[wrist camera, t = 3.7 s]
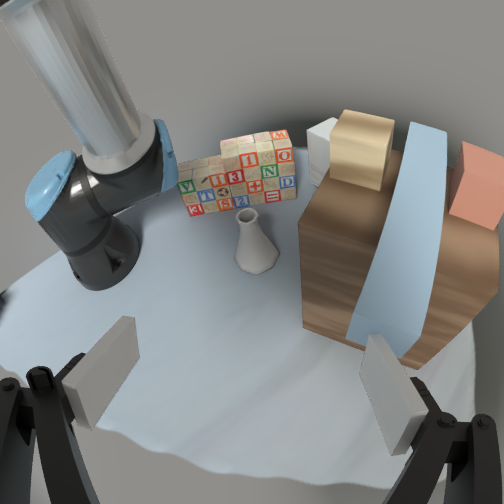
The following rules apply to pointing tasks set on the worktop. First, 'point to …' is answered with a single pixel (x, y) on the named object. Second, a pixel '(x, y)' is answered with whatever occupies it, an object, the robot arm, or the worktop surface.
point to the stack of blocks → (240, 174)
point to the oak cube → (360, 149)
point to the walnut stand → (363, 251)
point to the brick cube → (477, 186)
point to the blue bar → (406, 247)
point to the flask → (253, 244)
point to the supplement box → (319, 150)
